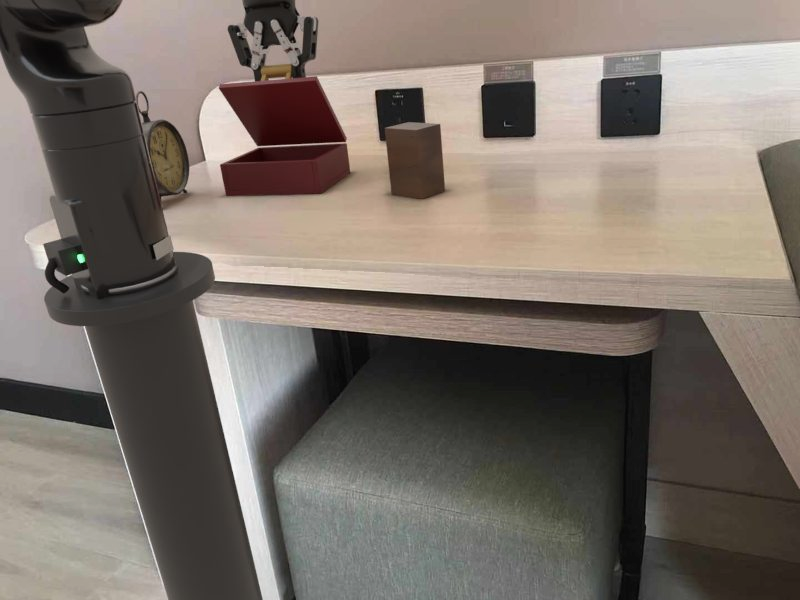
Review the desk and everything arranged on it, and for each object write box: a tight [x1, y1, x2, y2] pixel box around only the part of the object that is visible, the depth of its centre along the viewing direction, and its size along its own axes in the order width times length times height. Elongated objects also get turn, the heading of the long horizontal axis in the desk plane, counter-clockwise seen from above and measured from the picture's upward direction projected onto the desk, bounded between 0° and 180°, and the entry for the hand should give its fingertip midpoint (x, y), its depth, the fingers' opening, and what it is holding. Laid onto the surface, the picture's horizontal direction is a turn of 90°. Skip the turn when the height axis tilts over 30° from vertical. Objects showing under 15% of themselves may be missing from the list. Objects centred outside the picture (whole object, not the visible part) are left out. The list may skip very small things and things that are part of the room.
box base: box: [219, 142, 351, 197], centre depth 105 cm, size 13×16×5 cm
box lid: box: [218, 63, 348, 147], centre depth 105 cm, size 13×16×5 cm
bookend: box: [384, 121, 446, 200], centre depth 92 cm, size 4×6×9 cm
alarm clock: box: [135, 90, 190, 202], centre depth 100 cm, size 11×5×16 cm, turn 170°
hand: (282, 93), depth 103 cm, fingers closed on box lid, 5 cm apart
